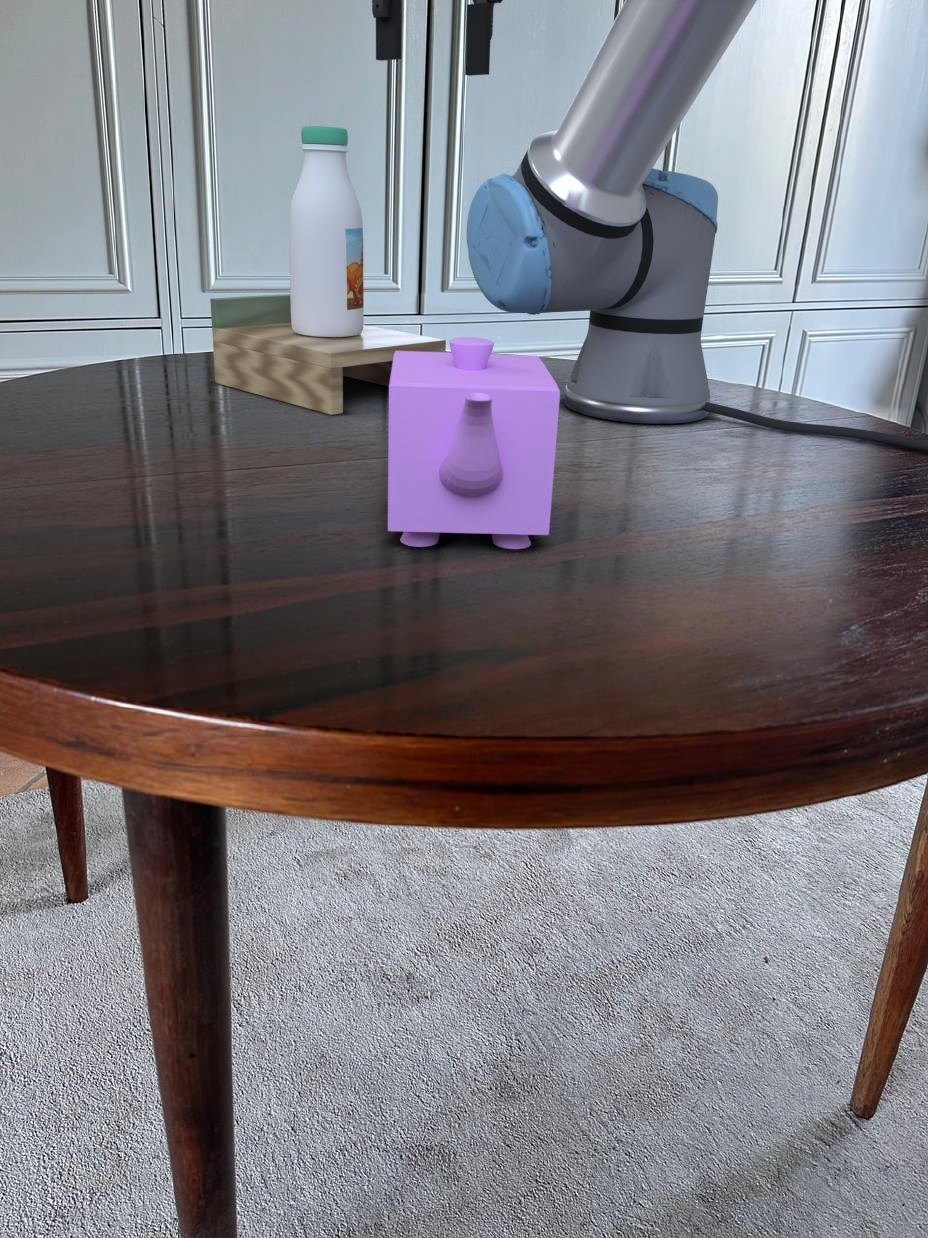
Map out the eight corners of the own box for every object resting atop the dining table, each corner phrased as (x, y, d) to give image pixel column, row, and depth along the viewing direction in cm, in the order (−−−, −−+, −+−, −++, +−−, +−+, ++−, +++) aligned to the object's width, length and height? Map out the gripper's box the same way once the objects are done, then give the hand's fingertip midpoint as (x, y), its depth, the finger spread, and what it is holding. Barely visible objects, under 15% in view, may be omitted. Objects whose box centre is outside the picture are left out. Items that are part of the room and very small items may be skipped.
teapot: (393, 488, 75) (395, 318, 70) (525, 492, 76) (536, 323, 71) (384, 588, 57) (386, 368, 52) (558, 592, 58) (576, 374, 53)
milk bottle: (328, 341, 102) (324, 124, 94) (276, 332, 106) (268, 123, 98) (378, 334, 108) (379, 129, 100) (327, 326, 112) (324, 129, 104)
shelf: (444, 396, 109) (447, 310, 105) (331, 415, 98) (330, 320, 94) (326, 368, 121) (325, 291, 117) (215, 382, 110) (210, 298, 106)
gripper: (490, -149, 104) (483, 81, 112) (311, -226, 86) (318, 54, 94) (549, -162, 99) (536, 78, 108) (373, -246, 81) (374, 49, 90)
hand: (434, 67), depth 101 cm, fingers open, 13 cm apart
